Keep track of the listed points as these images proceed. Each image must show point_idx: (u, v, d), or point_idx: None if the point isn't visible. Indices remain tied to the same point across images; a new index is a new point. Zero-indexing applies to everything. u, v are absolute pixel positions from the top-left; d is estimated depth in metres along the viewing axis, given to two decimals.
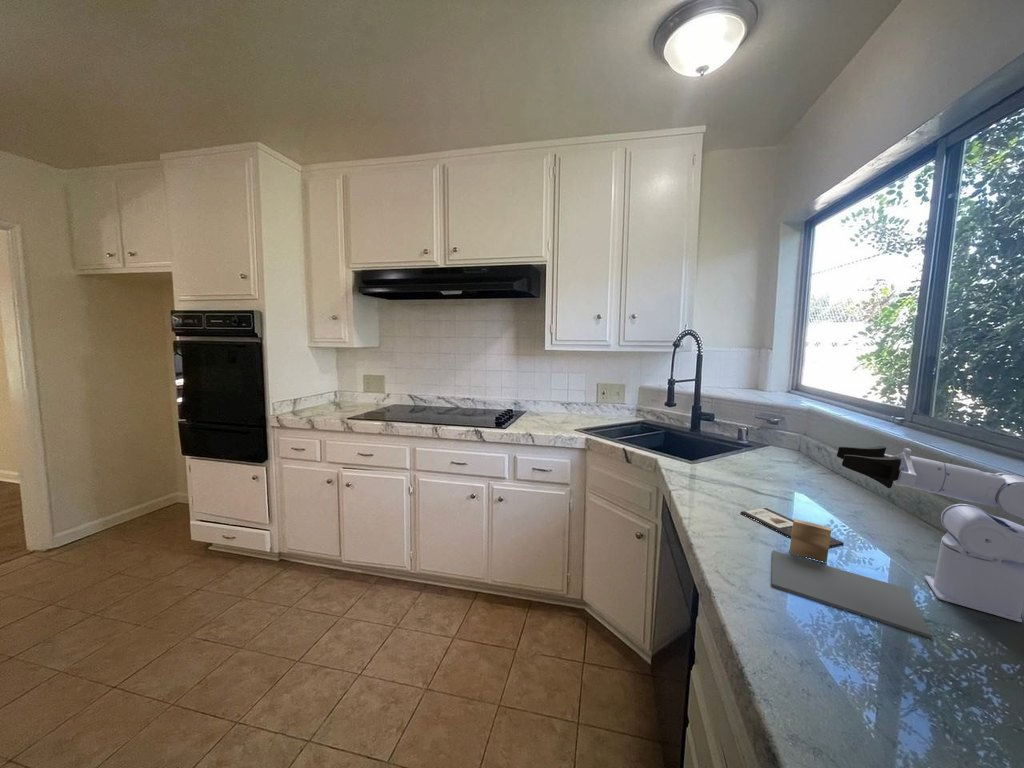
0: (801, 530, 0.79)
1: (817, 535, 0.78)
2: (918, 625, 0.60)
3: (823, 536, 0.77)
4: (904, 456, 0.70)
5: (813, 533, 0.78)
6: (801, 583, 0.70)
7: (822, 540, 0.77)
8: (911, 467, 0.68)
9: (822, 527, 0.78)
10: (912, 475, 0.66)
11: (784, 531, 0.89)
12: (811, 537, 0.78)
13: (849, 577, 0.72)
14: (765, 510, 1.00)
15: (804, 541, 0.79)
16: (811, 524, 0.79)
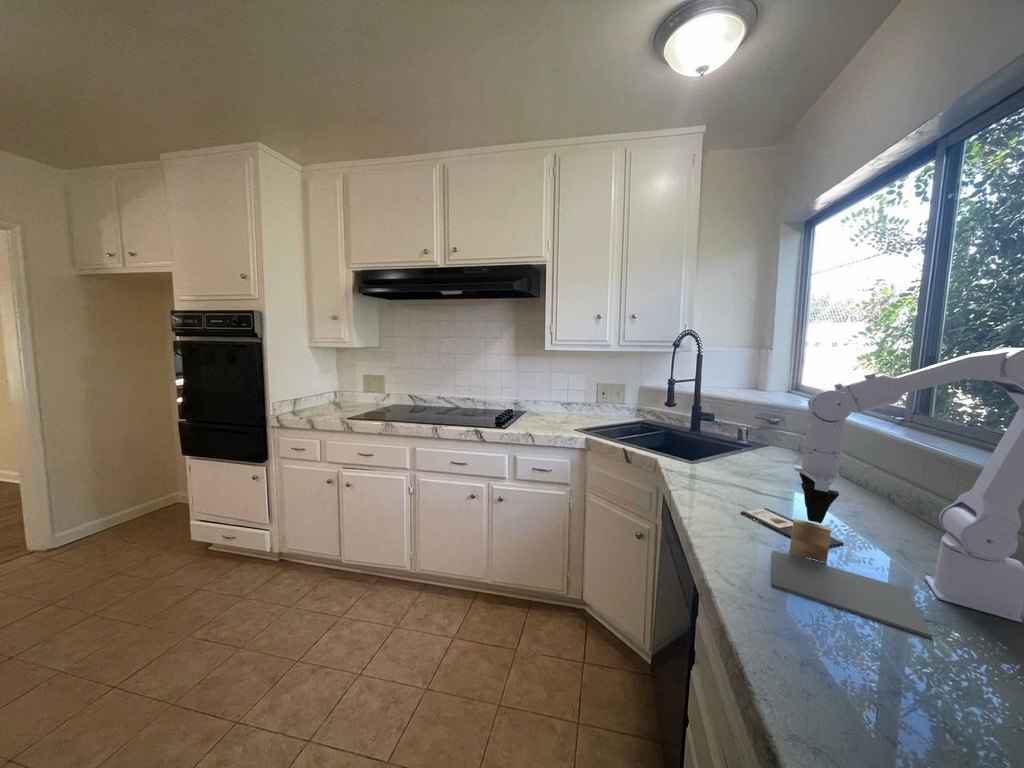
0: (801, 530, 0.79)
1: (817, 535, 0.78)
2: (918, 625, 0.60)
3: (823, 536, 0.77)
4: (802, 472, 0.78)
5: (813, 533, 0.78)
6: (801, 583, 0.70)
7: (822, 540, 0.77)
8: (810, 476, 0.75)
9: (822, 527, 0.78)
10: (817, 482, 0.72)
11: (784, 531, 0.89)
12: (811, 537, 0.78)
13: (849, 577, 0.72)
14: (765, 510, 1.00)
15: (804, 541, 0.79)
16: (811, 524, 0.79)
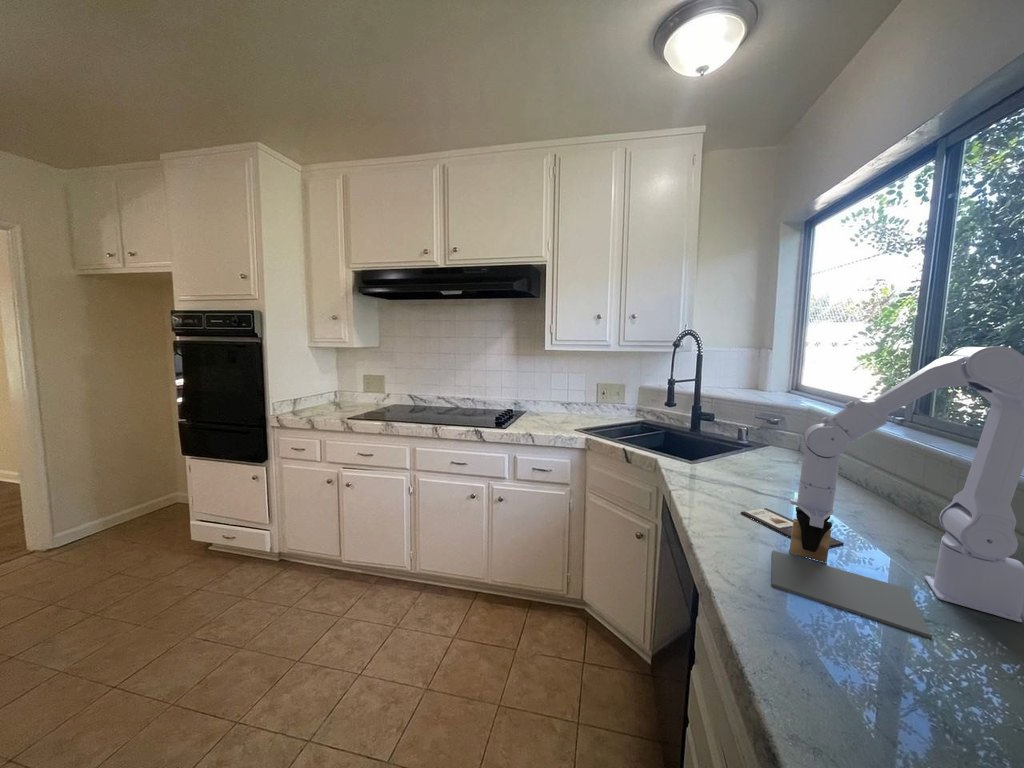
0: None
1: None
2: (918, 625, 0.60)
3: (823, 536, 0.77)
4: None
5: None
6: (801, 583, 0.70)
7: (822, 540, 0.77)
8: (805, 511, 0.76)
9: None
10: (811, 518, 0.73)
11: (784, 531, 0.89)
12: None
13: (849, 577, 0.72)
14: (765, 510, 1.00)
15: None
16: None
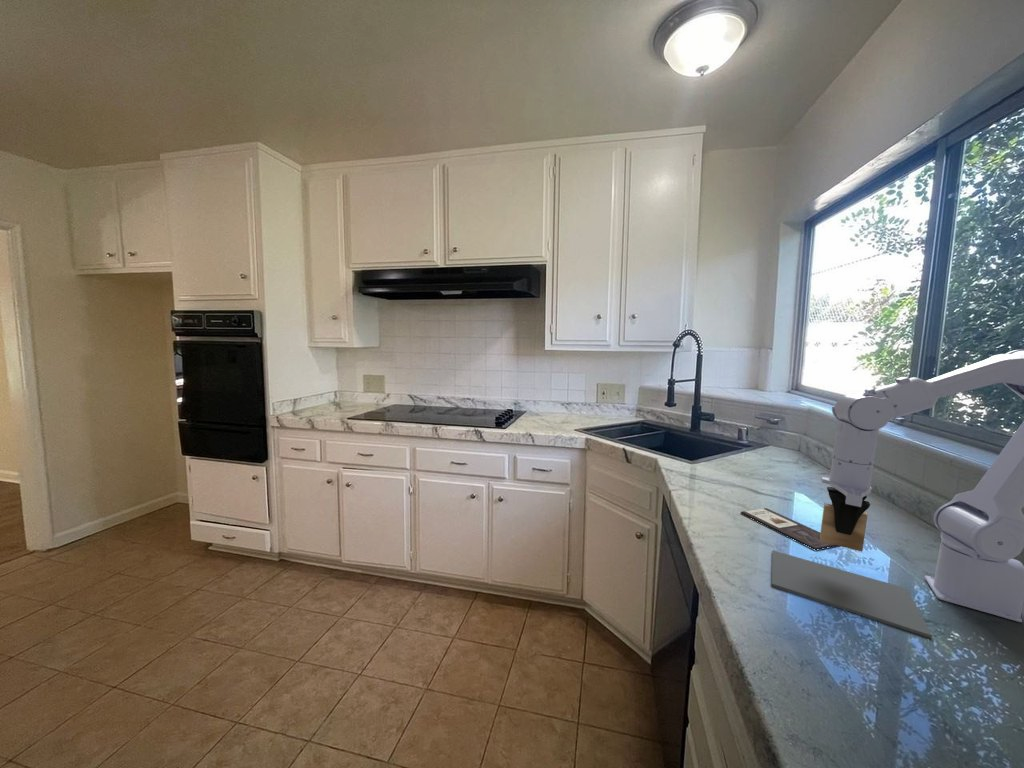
0: (833, 515, 0.72)
1: None
2: (918, 625, 0.60)
3: (858, 521, 0.70)
4: None
5: None
6: (801, 583, 0.70)
7: (857, 525, 0.71)
8: (840, 489, 0.69)
9: None
10: (848, 496, 0.66)
11: (784, 531, 0.89)
12: None
13: (849, 577, 0.72)
14: (765, 510, 1.00)
15: None
16: None
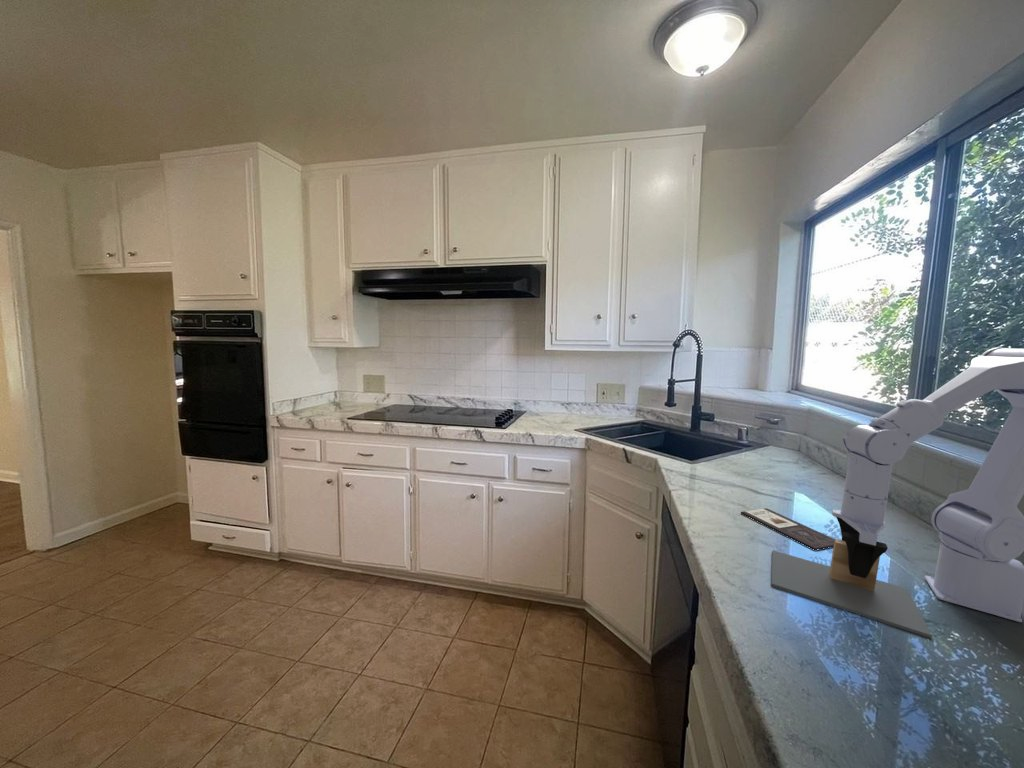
0: (844, 552, 0.70)
1: None
2: (918, 625, 0.60)
3: None
4: (842, 519, 0.70)
5: None
6: (801, 583, 0.70)
7: None
8: (853, 525, 0.66)
9: None
10: (862, 534, 0.64)
11: (784, 531, 0.89)
12: None
13: None
14: (765, 510, 1.00)
15: (848, 565, 0.70)
16: None
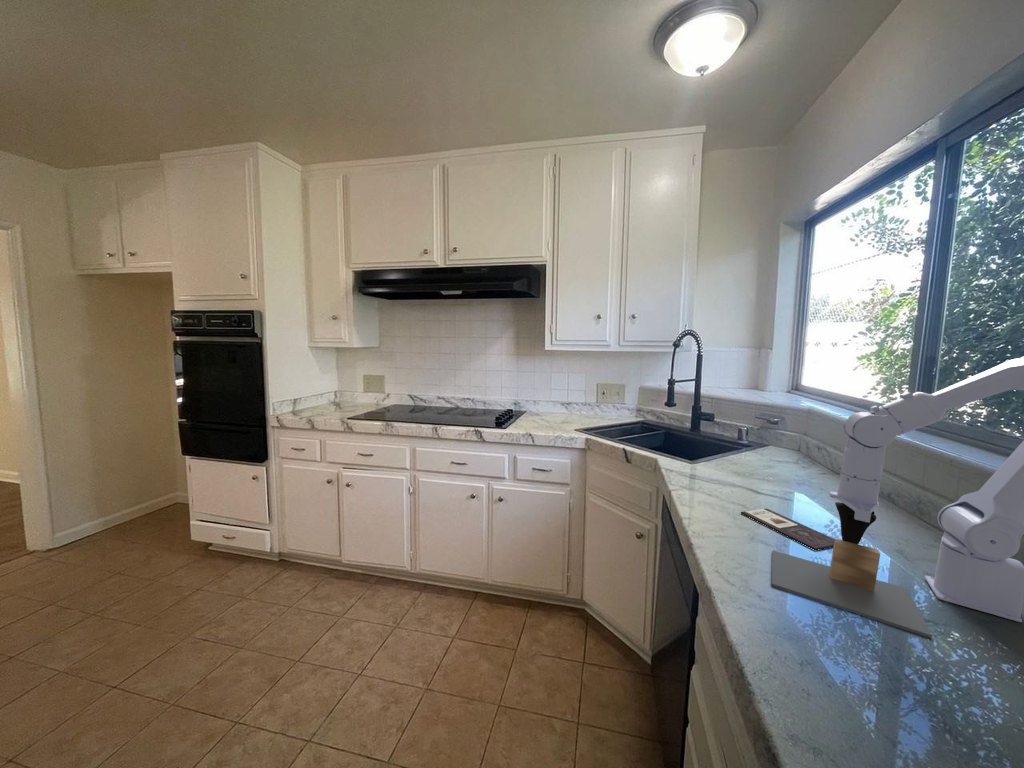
0: (844, 552, 0.70)
1: (863, 558, 0.69)
2: (918, 625, 0.60)
3: (870, 560, 0.68)
4: (838, 499, 0.75)
5: (859, 556, 0.69)
6: (801, 583, 0.70)
7: (869, 564, 0.68)
8: (849, 504, 0.71)
9: (869, 549, 0.69)
10: (857, 512, 0.69)
11: (784, 531, 0.89)
12: (856, 560, 0.69)
13: None
14: (765, 510, 1.00)
15: (848, 565, 0.70)
16: (856, 545, 0.70)
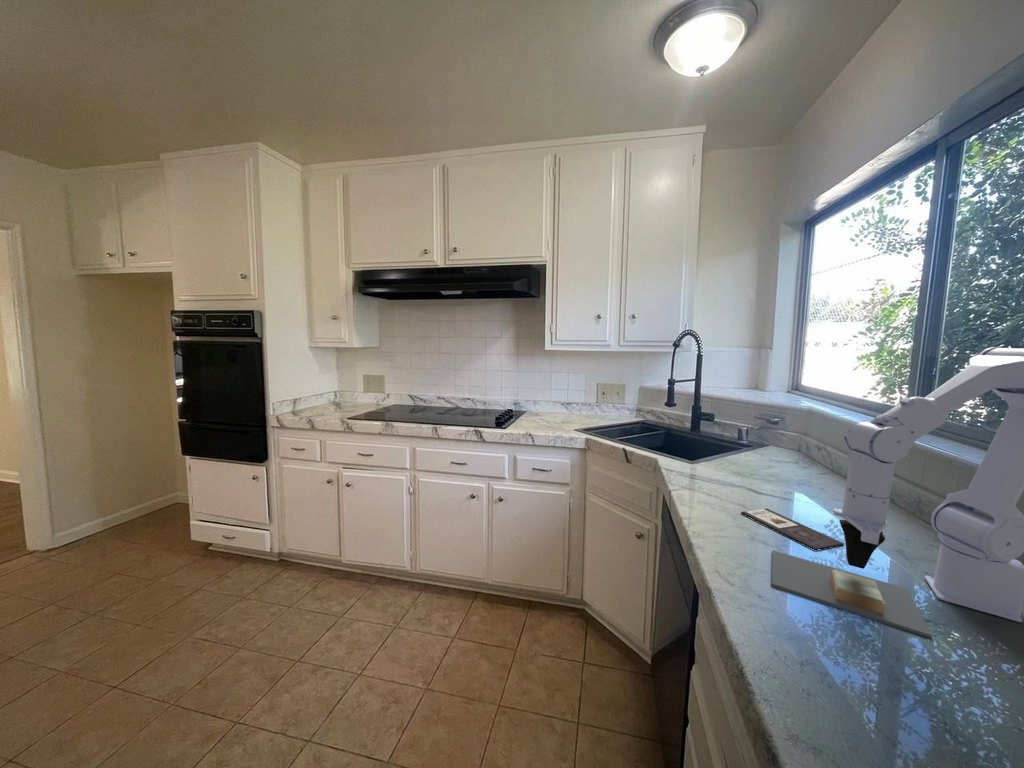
0: None
1: None
2: (918, 625, 0.60)
3: None
4: (843, 517, 0.69)
5: None
6: (801, 583, 0.70)
7: None
8: (855, 524, 0.65)
9: (872, 606, 0.63)
10: (864, 533, 0.62)
11: (784, 531, 0.89)
12: None
13: None
14: (765, 510, 1.00)
15: None
16: (858, 601, 0.64)
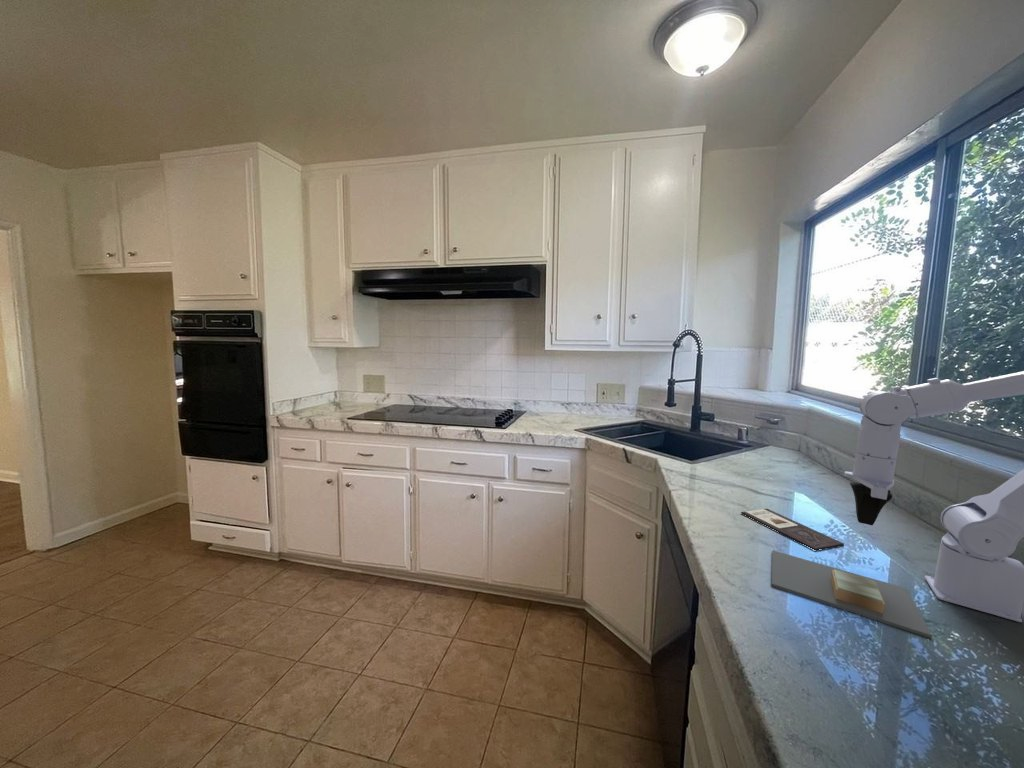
0: None
1: None
2: (918, 625, 0.60)
3: None
4: (854, 479, 0.75)
5: None
6: (801, 583, 0.70)
7: None
8: (865, 483, 0.71)
9: (872, 606, 0.63)
10: (874, 489, 0.69)
11: (784, 531, 0.89)
12: None
13: None
14: (766, 510, 1.00)
15: None
16: (858, 601, 0.64)
